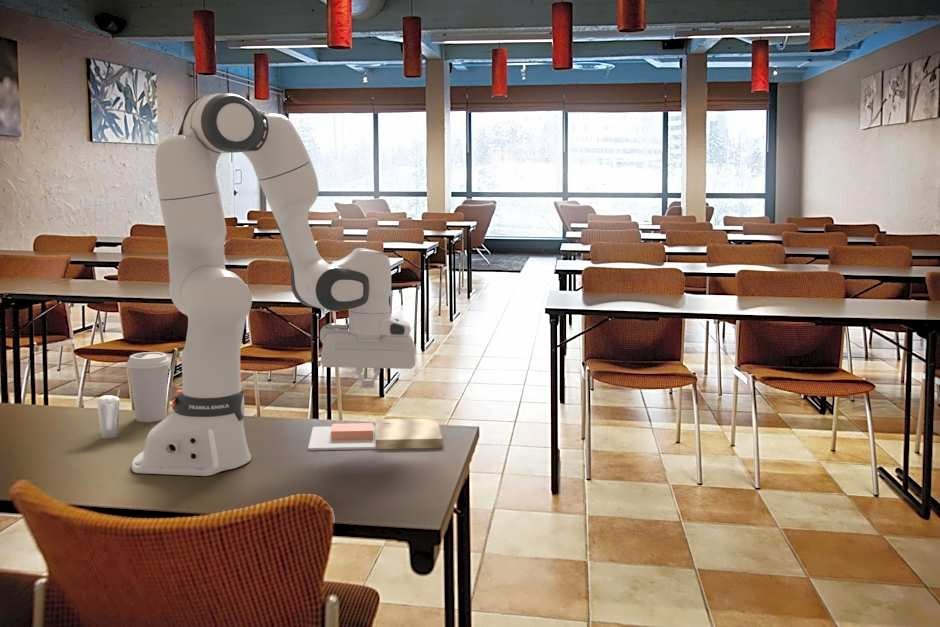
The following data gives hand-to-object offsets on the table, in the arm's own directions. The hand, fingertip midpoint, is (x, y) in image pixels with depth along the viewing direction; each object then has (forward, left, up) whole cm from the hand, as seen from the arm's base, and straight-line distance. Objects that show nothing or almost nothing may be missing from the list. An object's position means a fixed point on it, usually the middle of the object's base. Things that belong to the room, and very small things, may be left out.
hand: (367, 387), depth 196 cm
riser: (+9, 0, -11) cm, 14 cm away
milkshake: (-55, +5, -12) cm, 57 cm away
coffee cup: (-50, +19, -12) cm, 55 cm away
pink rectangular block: (-3, 0, -11) cm, 11 cm away
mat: (-5, 0, -11) cm, 13 cm away
